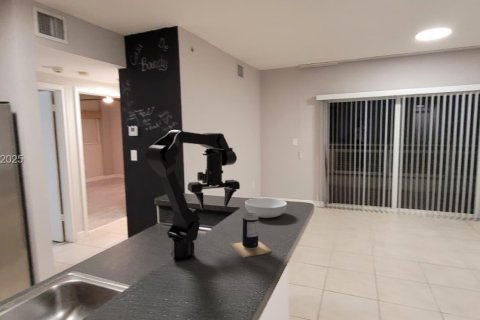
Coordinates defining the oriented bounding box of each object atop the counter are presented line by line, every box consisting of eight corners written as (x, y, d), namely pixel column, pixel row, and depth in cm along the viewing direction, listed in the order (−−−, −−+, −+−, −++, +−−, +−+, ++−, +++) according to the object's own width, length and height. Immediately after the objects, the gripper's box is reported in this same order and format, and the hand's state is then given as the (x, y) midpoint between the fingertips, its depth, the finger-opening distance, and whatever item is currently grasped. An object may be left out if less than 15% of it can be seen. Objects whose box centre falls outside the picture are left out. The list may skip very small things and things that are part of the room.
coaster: (243, 257, 98) (243, 255, 98) (230, 245, 108) (230, 244, 108) (271, 252, 103) (271, 250, 103) (256, 241, 113) (256, 239, 113)
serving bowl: (285, 210, 157) (285, 198, 156) (287, 223, 136) (288, 208, 135) (246, 209, 159) (246, 196, 158) (242, 220, 138) (243, 206, 137)
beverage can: (259, 245, 107) (260, 213, 106) (255, 251, 102) (256, 217, 101) (245, 243, 109) (245, 211, 108) (240, 249, 104) (240, 215, 102)
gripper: (229, 163, 119) (228, 201, 121) (183, 165, 112) (183, 205, 113) (240, 167, 109) (240, 208, 111) (191, 169, 101) (191, 213, 103)
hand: (214, 208), depth 110 cm, fingers open, 9 cm apart
